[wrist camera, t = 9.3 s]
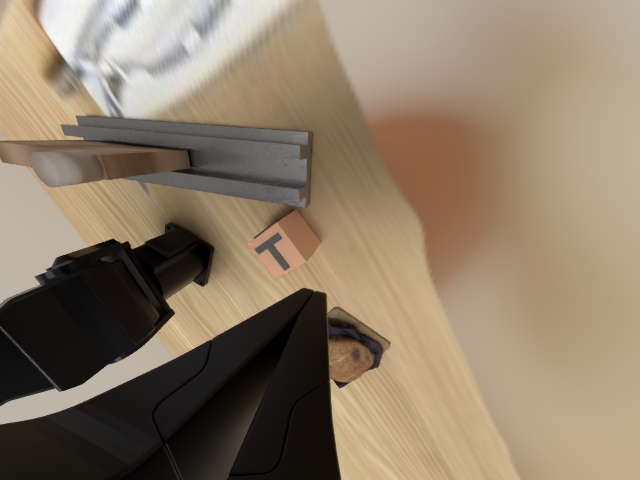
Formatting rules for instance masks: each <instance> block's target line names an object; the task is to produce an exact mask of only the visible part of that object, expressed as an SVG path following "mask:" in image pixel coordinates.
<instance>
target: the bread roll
mask: <svg viewBox="0 0 640 480" xmlns="http://www.w3.org/2000/svg"><path fill="white" fill-rule="evenodd" d="M327 316H328V341H329V365H330V378H331V379H333V381H334V382H335V383H336V385H337V386H338V387H339V388H342V387H344V386H345V385H347V384H348V383H350V382H351V381H354V380H356V379H358V378H359V377H360V376H361V375H362V374H363V373H364V372H366V371H368V370H371V369H374V368H378V367H379V364H380V360H381V358H382V354H383V353H384V352H385V351H386V350H387V349H389V348H390V342H389V341H388V340H387V339H385V338H383V337H382V336H380V335H379V334H378V333H376V332H375V331H373V330H372V329H370V328H369V327H368V326H366V325H365V324H363V323H362V322H360V321H359V320H357V319H356V318H355V317H353V316H352V315H350V314H349V313H347V312H346V311H344V310H343V309H341V308H340V307H335V308H333V309H332V310H331V311H330V312H328V314H327Z"/></svg>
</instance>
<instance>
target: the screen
mask: <svg viewBox="0 0 640 480" xmlns="http://www.w3.org/2000/svg"><path fill="white" fill-rule="evenodd" d="M0 158H1V160H2V162H4V163H10V164H16V165H22V166H28V167H33V169H34V171H35V173H36V175H37V176H38V177H39V179H40V180H41V181H42V182H43V183H44V184H46V185H47V186H49V187H59V186H66V185H73V184H80V183H87V182H94V181H100V180H102V179H106V180H112V179H118V178H125V177H132V176H139V175H146V174H153V173H160V172H167V171H174V170H181V169H187V168H190V162H189V156H188V151H187V150H182V149H173V148H164V147H154V146H145V145H136V144H127V143H117V142H108V141H99V140H47V141H0Z"/></svg>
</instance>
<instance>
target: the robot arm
mask: <svg viewBox="0 0 640 480" xmlns="http://www.w3.org/2000/svg"><path fill="white" fill-rule="evenodd" d="M130 246H131V245H130V244H129V242H128V241H127V242H124V243H122V244H121V243H120V242H118V241H116V240H114V239H110V240H108V241H105V242H102V243H99V244H96V245H93V246H90V247H88V248H84V249H81V250H78V251H75V252H72V253H69V254H66V255H63V256H60V257H57V258H56V259H55V261H54V263H53V265H52V267H50V268H48V269H46V270H47V272H46V273H43V274H40V275H38V276H35V278H36V279H37V281H38V282H39V283H40V284H41V285H38V286H36V287H34V288H31V289H29V290H26V291H24V292H21V293H19V294H16V295H14V296H12V297H9V298H7V299H6V300H4V301H3V302H2V303H1V304H0V406H2V405H3V404H5V403H6V402H8V401H11V400H15V399H19V398H22V397H25V396H29V395H33V394H36V393H40V392H44V391H48V390H51V389H55V388H56V389H57V390H58V391H60V392H61V391H65V390H68V389H70V388H73V387H76V386H79V385H81V384H83V383H85V382H86V381H87V380H89V379H90V378H91V377H92V376H94V375H95V374H96V373H98V372H99V371H100V370H101V369H103V368H104V367H105V366H107V365H108V364H112V363H116V362H118V361H120V360H122V359H124V358H126V357H128V356H129V355H131V354H133V353H134V352H136V351H137V350H138V349H139V348H141V347H142V346H143V345H145V343H147V342H148V341H149V340H150V339H151V338H152V337H153V336H154V335H155V334H156V333H157V332H158V331H159V330H160V329H161V328H162V327H163V325H164V324H165V323H166V322H167V321H168V320H169V319H170V318H171V317H172V316H173V315H174V314H175V312H174V311H173V309H171V308H170V306H169V305H168V303H167V302H166V299H168V298H169V297H171V296H172V295H173V294H175V293H176V292H178V291H179V290H181V289H182V288H184V287H185V286H186V285H188V284H189V283H191V282H192V281H194V282H195V283H197V284H199V285H200V286H205V285H206V284H207V280H208V275H209V270H210V265H211V260H212V256H213V248H212V247H211V246H210V245H208V244H207V243H205V242H203V241H201V240H200V239H198V238H196V237H195V236H193V235H191V234H189V233H188V232H186V231H184V230H183V229H181V228H179V227H177V226H176V225H174V224H172V223H168V224H166V225H165V234H163V235H161V236H158V237H156V238H153V239H151V240H148V241H146V242H145V244H144V245H141V246H139V247H137V248H134V249H131V247H130ZM208 249H209V250H208ZM0 480H341V475H340V468H339V462H338V456H337V450H336V442H335V435H334V428H333V419H332V405H331V386H330V365H329V341H328V316H327V295H326V293H323V292H319V291H314V290H311V289H307V288H302V289H300V290H298V291H297V292H295V293H293V294H291V295H290V296H288V297H286V298H284V299H282V300H281V301H279V302H277V303H275V304H273V305H272V306H270V307H268V308H266V309H264V310H263V311H261V312H259V313H257V314H256V315H254V316H252V317H250V318H248V319H247V320H245V321H243V322H241V323H239V324H238V325H236V326H234V327H232V328H230V329H229V330H227V331H225V332H223V333H222V334H220V335H218V336H216V337H214V338H213V339H212V340H209V341H207V342H205V343H203V344H202V345H200V346H198V347H196V348H194V349H192V350H191V351H189V352H187V353H185V354H183V355H181V356H179V357H177V358H176V359H173V360H171V361H169V362H168V363H165V364H163V365H161V366H159V367H157V368H155V369H153V370H151V371H149V372H147V373H145V374H142V375H140V376H138V377H136V378H134V379H132V380H130V381H127V382H125V383H123V384H121V385H119V386H117V387H115V388H112V389H110V390H108V391H106V392H104V393H102V394H100V395H97V396H95V397H93V398H91V399H89V400H87V401H85V402H83V403H80V404H78V405H75V406H73V407H70V408H68V409H65V410H62V411H60V412H56V413H53V414H50V415H47V416H43V417H39V418H35V419H31V420H25V421H20V422H14V423H7V424H2V425H0Z"/></svg>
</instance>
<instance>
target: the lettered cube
mask: <svg viewBox="0 0 640 480" xmlns="http://www.w3.org/2000/svg"><path fill="white" fill-rule="evenodd" d="M320 243H321V242H320V241H319V239H318V238H317V236H316V235H315V234H314V232H313V231H312V230H311V228H310V227H309V226H308V224H307V223H306V221H305V220H304V219H303V217H302V216H301V215H300V213H299V212H298V211H297V209H296V210H294V211H293V212H291V213H290V214H288V215H287V216H285V217H284V218H283V217H282V218H281V219H278V220H277V221H275V222H274V223H273V224H271V225H270V226H269V227H267V228H266V229H265V230H263V231H262V232H261V233H259V234H258V235H257V236H255V237H254V240H253V241H251V242H250V243H249V244H247V246H248V247H249V249H250V250H251V251H252V252H253V254H254V255H255V256H256V257H257V259H258V260H259V261H260V263H261V264H262V265H263V266H264V268H265V269H266V270H267V271H268V273H269V274H270V275H271V276H272V278H273V279H274V280H276V279H278V278H279V277H281V276H283V275H285V274H286V273H288V272H290V271H291V270H293V269H295V268H297V267H298V266H300V265H302V264H304V263H305V262H307V261H308V259H309V258H310V257H311V255H312V254H313V253H314V251H315V250H316V249H317V247H318V246H319V245H320Z"/></svg>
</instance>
